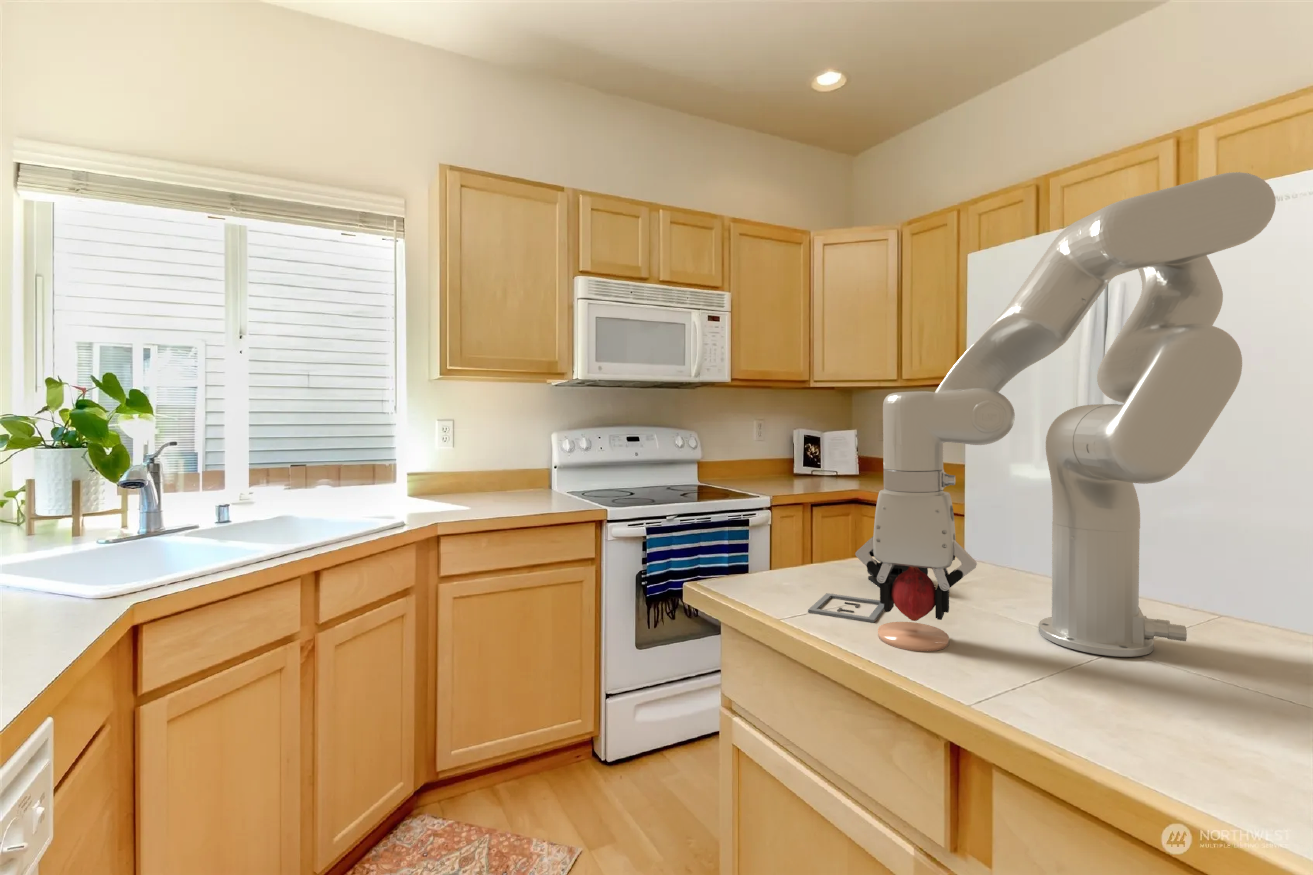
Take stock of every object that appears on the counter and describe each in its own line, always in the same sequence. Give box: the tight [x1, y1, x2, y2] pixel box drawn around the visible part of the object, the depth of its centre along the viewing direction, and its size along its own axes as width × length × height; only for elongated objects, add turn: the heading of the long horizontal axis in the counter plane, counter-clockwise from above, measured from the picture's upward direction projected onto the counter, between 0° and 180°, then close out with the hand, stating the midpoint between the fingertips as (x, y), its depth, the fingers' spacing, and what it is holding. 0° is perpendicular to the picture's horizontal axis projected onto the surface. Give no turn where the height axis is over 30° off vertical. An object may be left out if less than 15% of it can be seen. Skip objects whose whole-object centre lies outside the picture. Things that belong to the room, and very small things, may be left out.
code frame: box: [807, 592, 884, 623], centre depth 98 cm, size 10×10×1 cm
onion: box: [891, 566, 937, 622], centre depth 84 cm, size 6×6×8 cm
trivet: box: [877, 621, 950, 652], centre depth 84 cm, size 9×9×1 cm
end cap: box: [866, 549, 929, 589], centre depth 110 cm, size 10×7×7 cm
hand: (913, 611), depth 84 cm, fingers closed on onion, 5 cm apart
